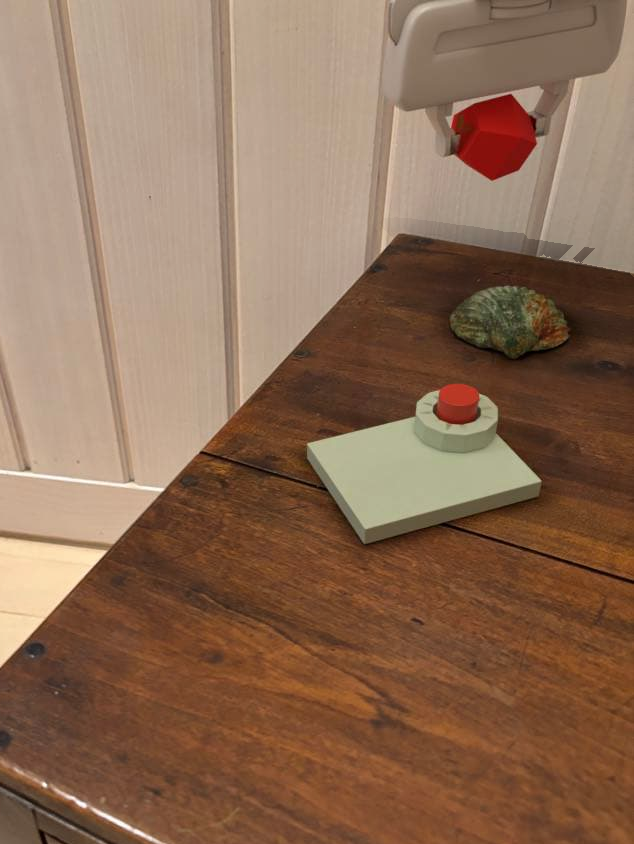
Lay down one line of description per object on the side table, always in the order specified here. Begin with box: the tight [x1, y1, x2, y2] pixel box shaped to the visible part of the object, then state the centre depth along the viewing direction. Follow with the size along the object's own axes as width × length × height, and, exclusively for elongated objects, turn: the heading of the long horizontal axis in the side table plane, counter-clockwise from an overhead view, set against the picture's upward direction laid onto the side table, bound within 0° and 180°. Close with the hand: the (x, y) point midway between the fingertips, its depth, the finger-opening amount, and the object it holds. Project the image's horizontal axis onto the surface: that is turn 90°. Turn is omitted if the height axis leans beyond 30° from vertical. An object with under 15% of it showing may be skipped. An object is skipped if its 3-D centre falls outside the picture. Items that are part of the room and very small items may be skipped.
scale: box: [306, 389, 543, 545], centre depth 64 cm, size 13×10×3 cm
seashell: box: [449, 285, 571, 360], centre depth 78 cm, size 10×4×10 cm
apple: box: [450, 93, 538, 182], centre depth 79 cm, size 7×7×8 cm
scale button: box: [436, 383, 480, 425], centre depth 65 cm, size 3×3×2 cm
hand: (492, 144), depth 80 cm, fingers closed on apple, 7 cm apart
